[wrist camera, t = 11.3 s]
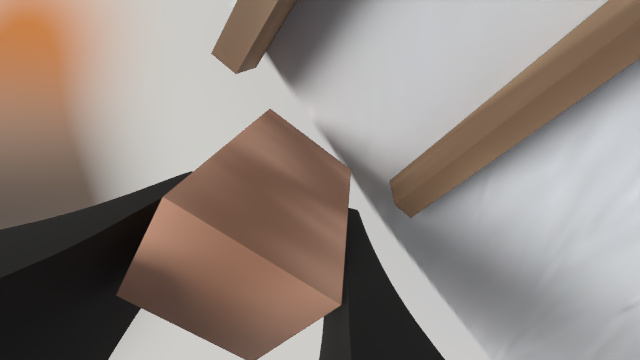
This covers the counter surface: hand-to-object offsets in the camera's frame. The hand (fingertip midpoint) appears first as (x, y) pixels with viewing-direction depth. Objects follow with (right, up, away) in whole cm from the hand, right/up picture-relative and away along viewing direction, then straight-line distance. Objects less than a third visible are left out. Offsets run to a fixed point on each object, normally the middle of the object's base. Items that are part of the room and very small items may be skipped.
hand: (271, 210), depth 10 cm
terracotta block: (0, +1, +1) cm, 2 cm away
